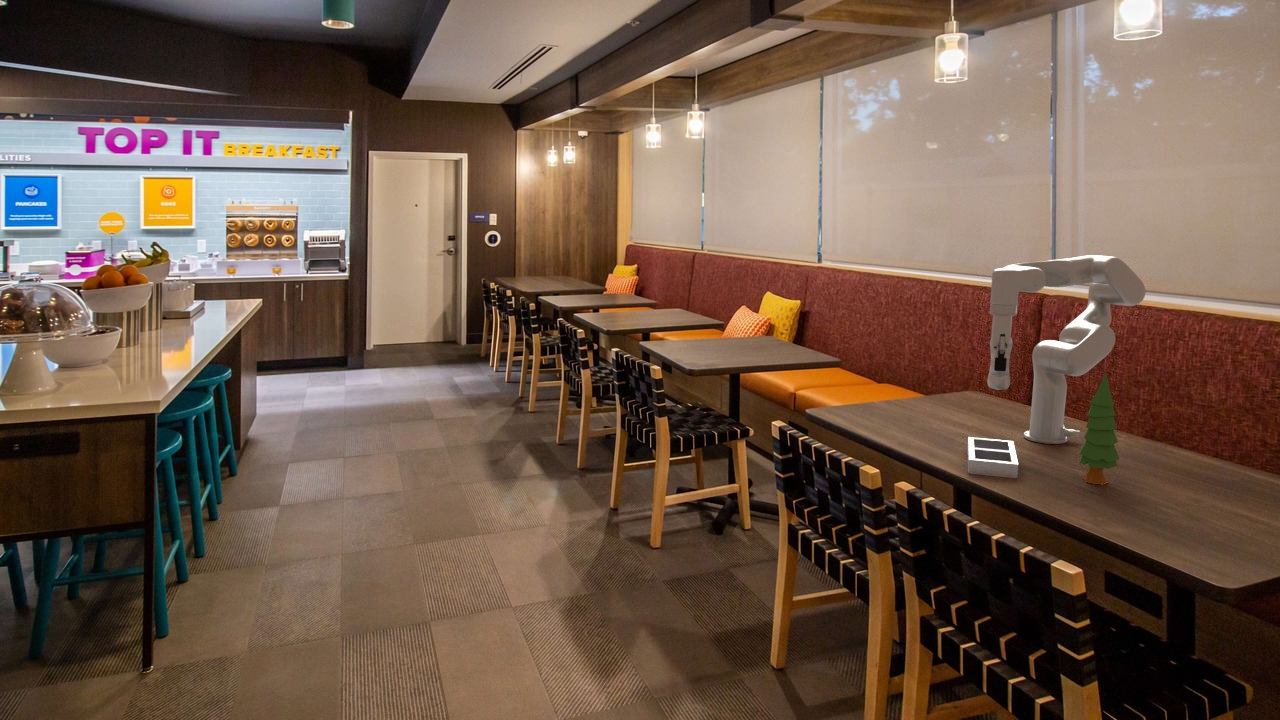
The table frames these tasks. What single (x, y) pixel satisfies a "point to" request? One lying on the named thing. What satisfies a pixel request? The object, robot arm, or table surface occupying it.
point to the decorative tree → (1100, 436)
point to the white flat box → (992, 457)
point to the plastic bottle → (999, 377)
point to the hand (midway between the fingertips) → (999, 368)
